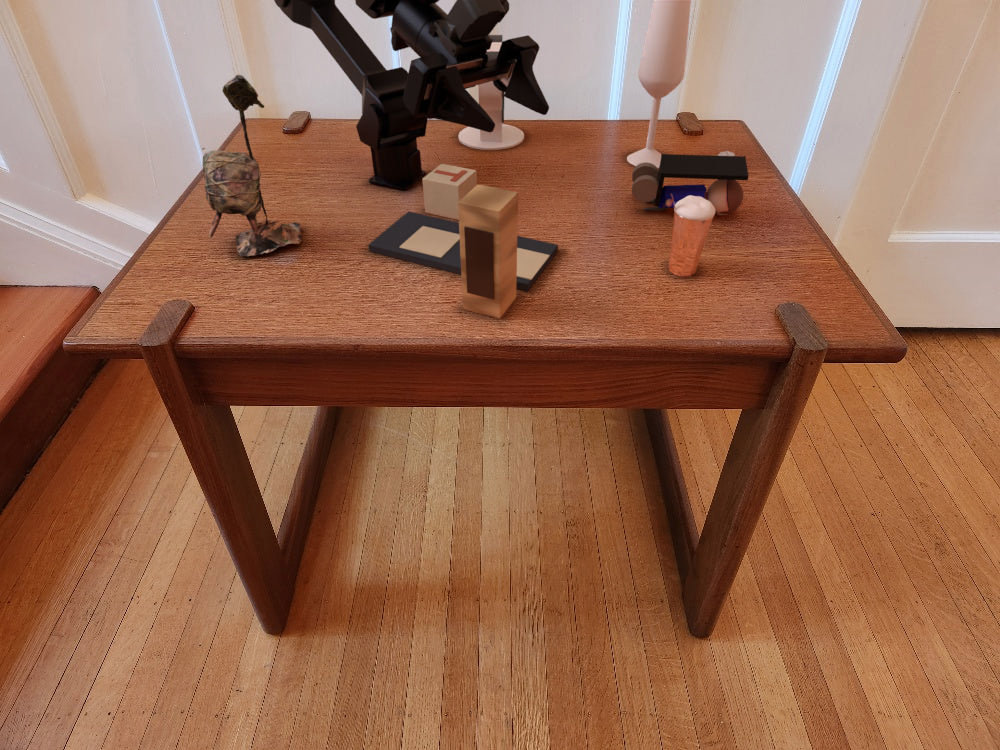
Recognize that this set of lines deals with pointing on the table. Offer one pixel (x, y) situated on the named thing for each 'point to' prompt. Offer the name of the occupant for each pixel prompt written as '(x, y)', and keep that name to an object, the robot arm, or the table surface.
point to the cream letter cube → (447, 189)
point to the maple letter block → (488, 249)
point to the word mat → (453, 247)
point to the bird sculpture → (243, 185)
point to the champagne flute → (662, 64)
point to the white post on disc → (492, 115)
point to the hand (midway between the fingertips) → (521, 119)
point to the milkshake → (689, 233)
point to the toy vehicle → (720, 193)
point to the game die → (726, 154)
